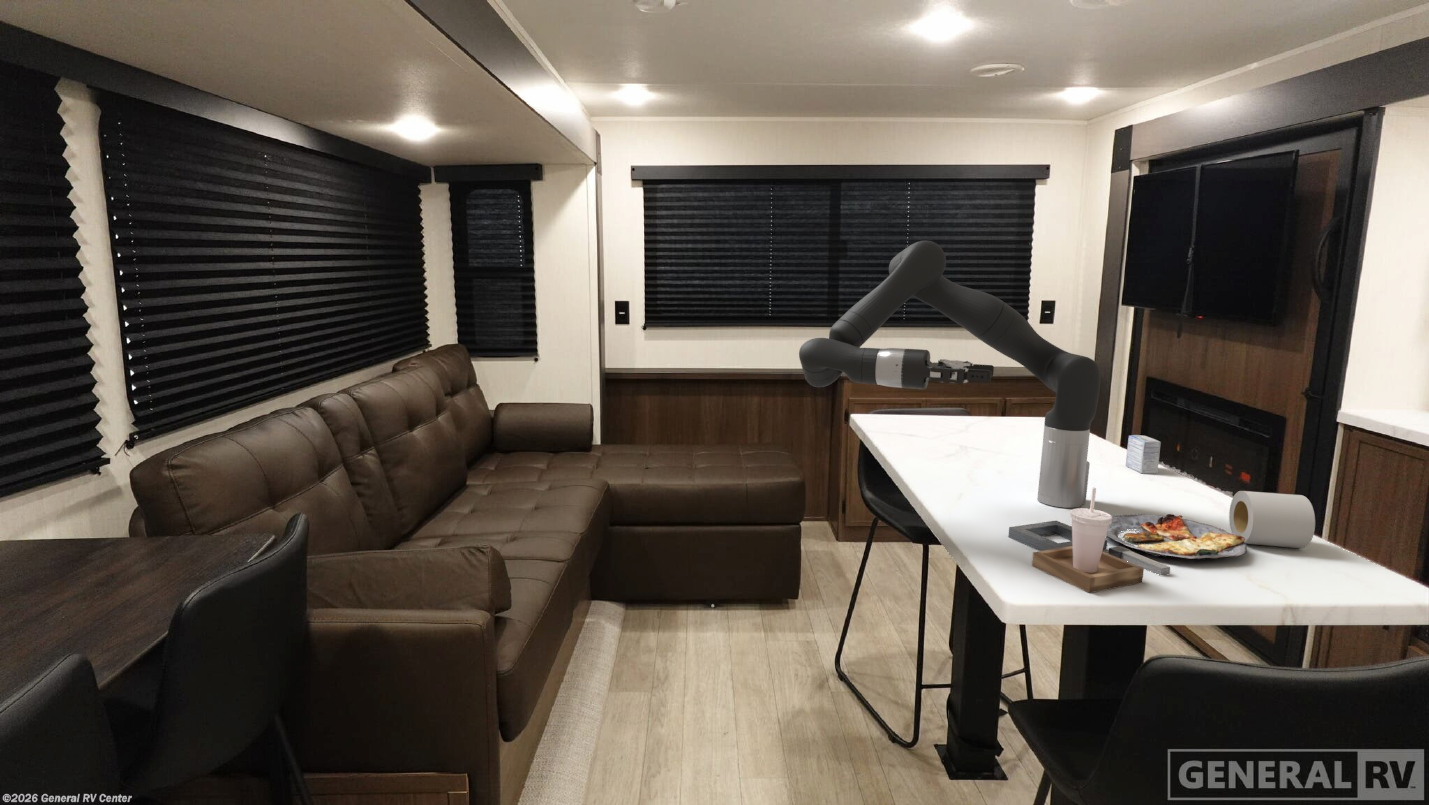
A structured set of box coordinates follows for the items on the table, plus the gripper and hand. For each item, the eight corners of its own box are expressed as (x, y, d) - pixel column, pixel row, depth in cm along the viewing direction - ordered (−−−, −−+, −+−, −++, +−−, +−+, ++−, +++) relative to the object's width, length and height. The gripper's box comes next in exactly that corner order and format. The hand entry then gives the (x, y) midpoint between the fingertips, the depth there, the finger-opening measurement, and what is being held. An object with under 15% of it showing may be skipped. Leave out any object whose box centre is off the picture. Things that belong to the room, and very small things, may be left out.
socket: (1055, 530, 152) (1056, 520, 151) (1106, 550, 141) (1107, 540, 140) (1008, 537, 147) (1009, 527, 147) (1057, 558, 136) (1058, 548, 136)
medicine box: (1157, 474, 197) (1161, 441, 195) (1140, 474, 197) (1144, 441, 195) (1141, 466, 204) (1145, 435, 203) (1124, 466, 205) (1128, 434, 203)
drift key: (1108, 555, 139) (1108, 547, 139) (1119, 553, 140) (1120, 546, 140) (1159, 577, 129) (1160, 568, 129) (1170, 575, 130) (1172, 566, 130)
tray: (1082, 557, 137) (1084, 544, 137) (1142, 582, 126) (1143, 568, 126) (1031, 566, 133) (1033, 552, 132) (1088, 592, 122) (1090, 578, 121)
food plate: (1179, 520, 159) (1180, 504, 158) (1278, 563, 136) (1280, 544, 136) (1070, 528, 155) (1072, 511, 154) (1154, 574, 132) (1156, 555, 132)
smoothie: (1108, 566, 130) (1117, 487, 128) (1103, 578, 125) (1113, 496, 123) (1067, 558, 134) (1075, 481, 131) (1061, 570, 128) (1070, 490, 126)
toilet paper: (1283, 538, 150) (1291, 489, 148) (1310, 556, 140) (1318, 504, 138) (1226, 533, 152) (1233, 484, 150) (1248, 550, 142) (1256, 499, 141)
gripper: (897, 351, 139) (992, 357, 133) (909, 345, 152) (995, 350, 146) (895, 392, 140) (988, 399, 134) (907, 382, 153) (992, 388, 147)
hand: (992, 373), depth 140 cm, fingers open, 8 cm apart
